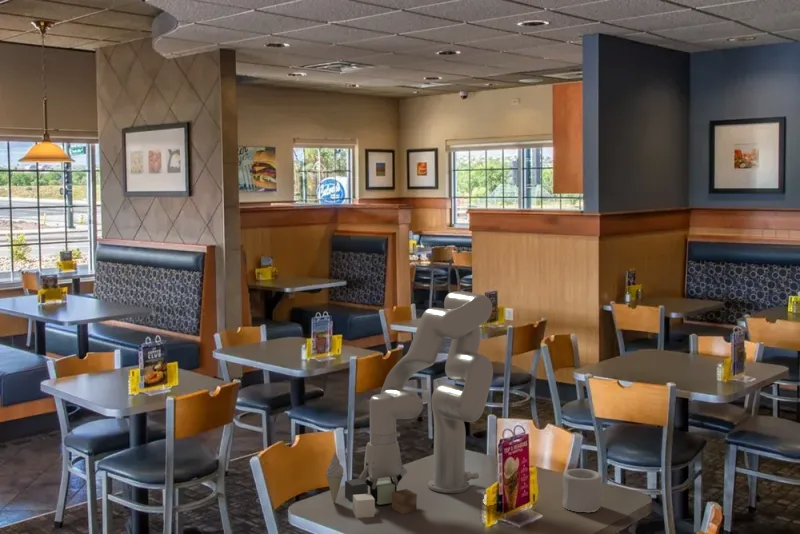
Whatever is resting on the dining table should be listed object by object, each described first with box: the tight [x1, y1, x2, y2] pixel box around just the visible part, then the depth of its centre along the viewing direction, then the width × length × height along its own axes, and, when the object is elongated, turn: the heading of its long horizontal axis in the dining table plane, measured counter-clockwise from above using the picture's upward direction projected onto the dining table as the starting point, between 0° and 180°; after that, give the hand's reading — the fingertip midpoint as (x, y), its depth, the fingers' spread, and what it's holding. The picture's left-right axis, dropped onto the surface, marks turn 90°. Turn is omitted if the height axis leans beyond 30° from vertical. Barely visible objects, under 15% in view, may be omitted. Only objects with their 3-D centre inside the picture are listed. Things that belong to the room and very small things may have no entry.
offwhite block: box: [352, 493, 376, 519], centre depth 248 cm, size 5×5×5 cm
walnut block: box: [391, 488, 418, 515], centre depth 252 cm, size 5×5×5 cm
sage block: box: [375, 479, 395, 506], centre depth 257 cm, size 5×5×5 cm
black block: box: [344, 478, 369, 503], centre depth 261 cm, size 5×5×5 cm
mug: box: [561, 468, 602, 512], centre depth 257 cm, size 14×11×10 cm
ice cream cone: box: [325, 451, 344, 504], centre depth 256 cm, size 5×5×15 cm
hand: (383, 498), depth 257 cm, fingers closed on sage block, 5 cm apart
